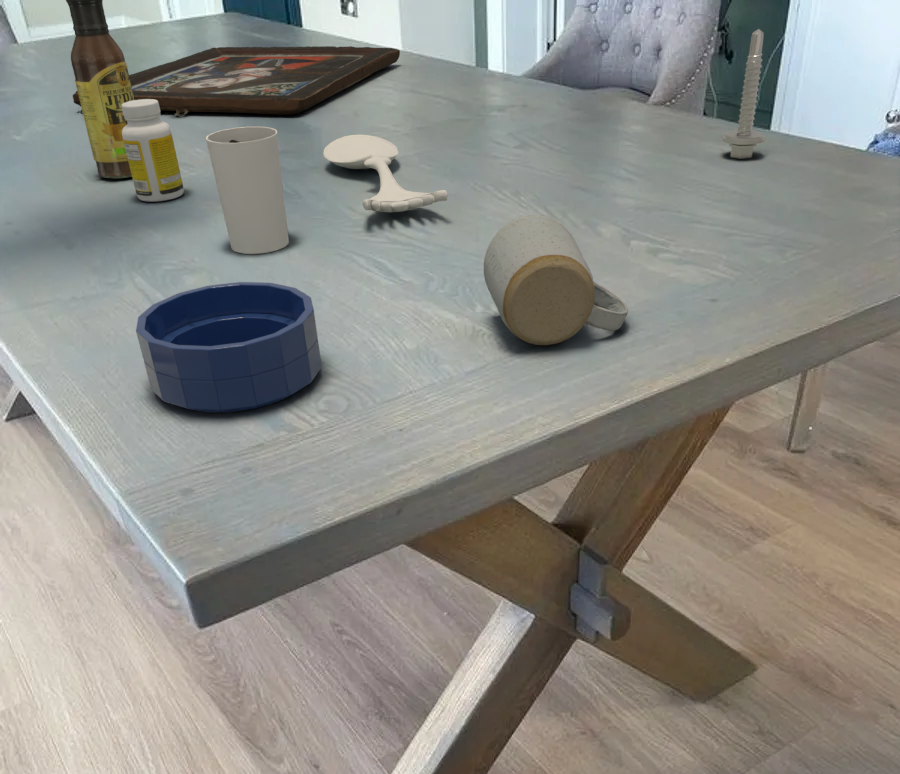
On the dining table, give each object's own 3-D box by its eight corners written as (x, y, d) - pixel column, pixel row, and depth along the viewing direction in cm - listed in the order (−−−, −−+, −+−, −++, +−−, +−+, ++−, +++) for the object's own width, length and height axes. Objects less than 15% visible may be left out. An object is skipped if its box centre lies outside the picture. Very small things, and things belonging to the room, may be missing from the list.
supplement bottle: (188, 188, 111) (168, 96, 105) (180, 201, 107) (160, 105, 100) (142, 191, 111) (120, 99, 105) (133, 204, 106) (109, 109, 100)
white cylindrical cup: (219, 256, 91) (197, 144, 84) (234, 234, 96) (214, 128, 90) (287, 254, 90) (270, 141, 84) (298, 232, 95) (283, 125, 89)
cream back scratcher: (365, 234, 94) (362, 198, 92) (319, 160, 118) (316, 130, 116) (452, 223, 95) (451, 188, 93) (389, 152, 120) (387, 122, 118)
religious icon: (69, 114, 149) (63, 93, 147) (211, 63, 182) (208, 45, 180) (297, 119, 138) (294, 96, 136) (403, 64, 171) (402, 45, 169)
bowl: (118, 394, 68) (99, 327, 64) (236, 334, 75) (224, 272, 72) (241, 433, 62) (227, 363, 59) (355, 364, 70) (347, 298, 67)
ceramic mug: (501, 356, 69) (502, 251, 65) (482, 314, 76) (482, 216, 71) (639, 344, 70) (650, 240, 66) (609, 304, 77) (617, 207, 72)
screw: (718, 160, 109) (722, 150, 113) (761, 162, 108) (763, 151, 112) (734, 32, 101) (737, 25, 105) (780, 31, 100) (782, 25, 104)
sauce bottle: (128, 183, 114) (81, -11, 102) (88, 179, 116) (37, -11, 104) (160, 169, 119) (119, -18, 106) (121, 166, 121) (76, -18, 108)
